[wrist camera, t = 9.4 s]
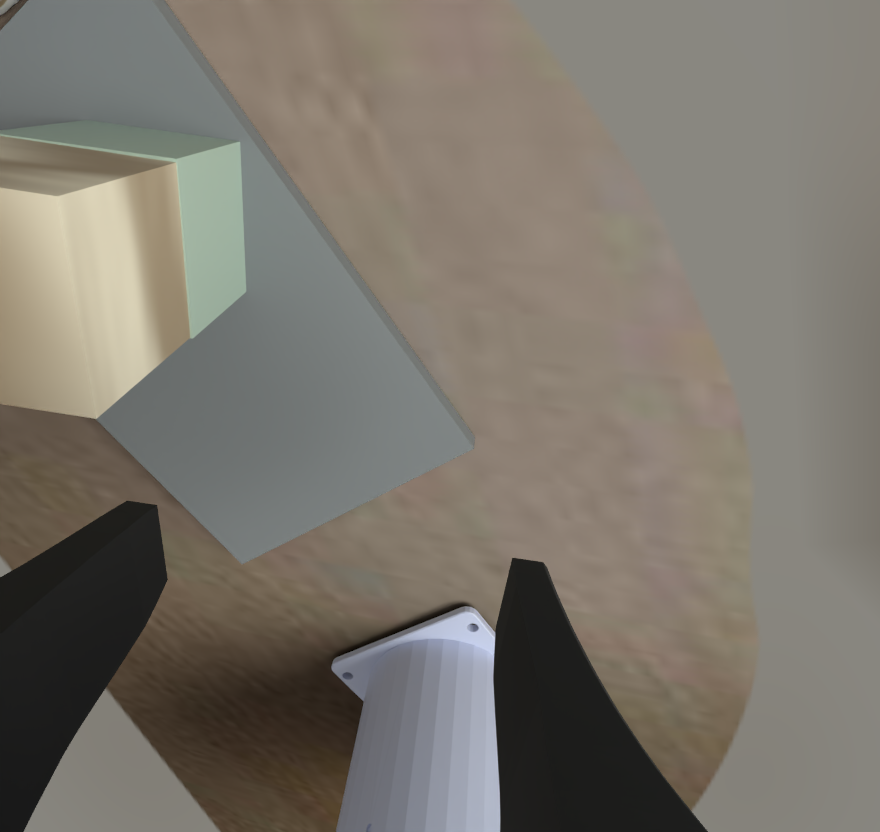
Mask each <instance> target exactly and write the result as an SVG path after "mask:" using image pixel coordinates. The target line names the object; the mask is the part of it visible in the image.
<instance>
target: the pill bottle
mask: <svg viewBox="0 0 880 832" xmlns="http://www.w3.org/2000/svg"><path fill="white" fill-rule="evenodd" d="M18 1H19V0H0V15H2V14H4V13H5V12H6V11H8V10H9V9H10V8H11V7H12V6H13V5H14V4H16V3H17V2H18Z"/></svg>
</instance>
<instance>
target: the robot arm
mask: <svg viewBox="0 0 880 832" xmlns="http://www.w3.org/2000/svg"><path fill="white" fill-rule="evenodd" d="M167 580H168V579H167V572H166V565H165V558H164V551H163V544H162V537H161V530H160V523H159V516H158V509H157V505H152V504H145V503H139V502H132V501H126V502H124V503H123V504H121V505H119V506H117V507H116V508H114V509H112V510H111V511H109V512H108V513H106V514H104V515H103V516H101V517H99V518H98V519H96V520H95V521H93V522H91V523H90V524H88V525H87V526H85V527H83V528H82V529H80V530H79V531H77V532H76V533H74V534H72V535H71V536H69V537H68V538H66V539H64V540H63V541H61V542H59V543H58V544H56V545H54V546H53V547H51V548H50V549H48V550H46V551H45V552H43V553H41V554H40V555H38V556H36V557H35V558H33V559H32V560H30V561H28V562H27V563H25V564H23V565H22V566H20V567H18V568H16V569H14V570H13V571H11V572H9V573H7V574H6V575H4V576H2V577H0V832H23V831H24V829H25V827H26V825H27V823H28V821H29V819H30V817H31V815H32V813H33V811H34V809H35V807H36V805H37V804H38V801H39V800H40V798H41V796H42V794H43V792H44V790H45V788H46V787H47V785H48V783H49V781H50V779H51V777H52V775H53V773H54V771H55V769H56V767H57V766H58V764H59V762H60V759H61V758H62V756H63V754H64V753H65V751H66V749H67V747H68V746H69V744H70V742H71V741H72V739H73V738H74V736H75V734H76V733H77V731H78V729H79V728H80V726H81V725H82V723H83V721H84V720H85V718H86V717H87V715H88V714H89V712H90V711H91V709H92V708H93V706H94V705H95V703H96V702H97V700H98V698H99V697H100V696H101V694H102V692H103V691H104V689H105V688H106V686H107V685H108V683H109V682H110V680H111V679H112V677H113V676H114V674H115V673H116V671H117V669H118V668H119V666H120V665H121V663H122V662H123V660H124V659H125V657H126V656H127V654H128V652H129V651H130V649H131V648H132V646H133V645H134V643H135V642H136V640H137V638H138V637H139V635H140V634H141V632H142V630H143V629H144V627H145V626H146V624H147V622H148V620H149V618H150V616H151V614H152V612H153V610H154V608H155V606H156V604H157V601H158V599H159V597H160V595H161V593H162V591H163V588H164V586H165V584H166V582H167ZM472 623H473V624H476V625H471V624H472ZM331 668H332V671H333V672H334V673H335V674H336V675H337V676H338V677H339V678H340V679H341V680H342V681H343V682H344V683H345V684H346V685H347V686H348V687H349V688H350V689H351V690H352V691H353V692H354V693H355V694H356V695H357V696H358V697H360V698H361V699H362V700H363V701H364V703H363V708H362V712H361V717H360V722H359V727H358V731H357V736H356V741H355V745H354V750H353V755H352V759H351V764H350V769H349V773H348V778H347V783H346V787H345V792H344V797H343V802H342V806H341V811H340V816H339V820H338V825H337V830H336V832H708V831H707V830H706V829H705V828H704V827H703V825H702V824H701V823H700V821H699V820H698V819H697V818H696V816H695V815H694V814H693V813H692V812H691V810H690V809H689V808H688V807H687V805H686V804H685V803H684V802H683V800H682V799H681V798H680V797H679V795H678V794H677V793H676V792H675V790H674V789H673V788H672V787H671V785H670V784H669V783H668V782H667V780H666V779H665V778H664V776H663V775H662V774H661V772H660V771H659V769H658V768H657V767H656V765H655V764H654V763H653V761H652V760H651V758H650V757H649V756H648V754H647V753H646V752H645V750H644V749H643V747H642V746H641V744H640V743H639V741H638V740H637V738H636V737H635V735H634V734H633V733H632V731H631V730H630V728H629V727H628V725H627V724H626V722H625V720H624V719H623V717H622V716H621V714H620V713H619V711H618V709H617V708H616V706H615V705H614V703H613V701H612V700H611V698H610V696H609V695H608V693H607V691H606V689H605V688H604V686H603V684H602V683H601V681H600V679H599V677H598V676H597V674H596V672H595V670H594V668H593V667H592V665H591V663H590V661H589V659H588V657H587V655H586V653H585V651H584V649H583V648H582V646H581V644H580V642H579V640H578V638H577V636H576V634H575V632H574V630H573V628H572V626H571V624H570V621H569V619H568V617H567V615H566V613H565V610H564V608H563V606H562V604H561V602H560V599H559V597H558V595H557V592H556V590H555V587H554V585H553V582H552V580H551V577H550V574H549V572H548V569H547V567H546V566H545V564H544V563H543V562H537V561H531V560H524V559H517V558H512V562H511V566H510V570H509V575H508V579H507V583H506V587H505V591H504V596H503V600H502V604H501V608H500V612H499V617H498V621H497V625H496V631H495V632H494V631H493V630H492V628H491V627H490V626H489V625H488V623H487V622H486V621H485V620H484V619H483V617H482V616H481V615H480V614H479V613H478V611H477V610H475V609H474V608H472V607H469V606H464V607H461V608H458V609H456V610H453V611H451V612H448V613H446V614H443V615H441V616H438V617H436V618H433V619H431V620H428V621H426V622H423V623H421V624H418V625H416V626H413V627H411V628H408V629H406V630H403V631H401V632H398V633H396V634H393V635H391V636H388V637H386V638H383V639H381V640H378V641H376V642H373V643H371V644H368V645H366V646H363V647H361V648H359V649H356V650H354V651H351V652H349V653H346V654H344V655H341V656H339V657H336V658H335V659H334V660H333V663H332V666H331Z"/></svg>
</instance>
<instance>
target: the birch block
mask: <svg viewBox="0 0 880 832" xmlns="http://www.w3.org/2000/svg"><path fill="white" fill-rule="evenodd" d="M189 338H190V328H189V315H188V303H187V290H186V278H185V265H184V253H183V240H182V228H181V216H180V203H179V191H178V178H177V166H176V162H170V161H163V160H157V159H150V158H143V157H137V156H130V155H124V154H117V153H111V152H104V151H97V150H91V149H84V148H78V147H71V146H64V145H58V144H51V143H45V142H38V141H32V140H25V139H18V138H12V137H5V136H0V404H4V405H10V406H17V407H23V408H30V409H36V410H43V411H49V412H55V413H62V414H68V415H75V416H81V417H88V418H94V419H97V418H98V417H99V416H100V415H102V414H103V413H104V412H105V411H106V410H107V409H108V408H110V407H111V406H112V405H113V404H114V403H115V402H117V401H118V400H119V399H120V398H121V397H122V396H123V395H125V394H126V393H127V392H128V391H129V390H130V389H132V388H133V387H134V386H135V385H136V384H137V383H138V382H140V381H141V380H142V379H143V378H144V377H145V376H147V375H148V374H149V373H150V372H151V371H152V370H153V369H155V368H156V367H157V366H158V365H159V364H160V363H162V362H163V361H164V360H165V359H166V358H167V357H168V356H170V355H171V354H172V353H173V352H174V351H175V350H177V349H178V348H179V347H180V346H181V345H182V344H183V343H185V342H186V341H187V340H188V339H189Z"/></svg>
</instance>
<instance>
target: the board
mask: <svg viewBox="0 0 880 832" xmlns="http://www.w3.org/2000/svg"><path fill="white" fill-rule="evenodd" d="M83 120H90V121H97V122H104V123H111V124H119V125H126V126H133V127H140V128H147V129H154V130H162V131H169V132H176V133H183V134H190V135H198V136H205V137H212V138H219V139H226V140H233V141H240V150H241V175H242V199H243V223H244V248H245V272H246V292H245V293H244V294H243V295H242V296H241V297H240V298H239V299H237V300H236V301H235V302H234V303H233V304H232V305H231V306H229V307H228V308H227V309H226V310H225V311H224V312H223V313H221V314H220V315H219V316H218V317H217V318H216V319H215V320H213V321H212V322H211V323H210V324H209V325H208V326H207V327H206V328H204V329H203V330H202V331H201V332H200V333H199V334H198V335H196V336H195V337H194V338H193V339H192V338H189V339H188V340H187V341H186V342H185V343H183V344H182V345H181V346H180V347H179V348H178V349H177V350H175V351H174V352H173V353H172V354H171V355H170V356H168V357H167V358H166V359H165V360H164V361H163V362H162V363H160V364H159V365H158V366H157V367H156V368H155V369H153V370H152V371H151V372H150V373H149V374H148V375H147V376H145V377H144V378H143V379H142V380H141V381H140V382H138V383H137V384H136V385H135V386H134V387H133V388H132V389H130V390H129V391H128V392H127V393H126V394H125V395H123V396H122V397H121V398H120V399H119V400H118V401H117V402H115V403H114V404H113V405H112V406H111V407H110V408H108V409H107V410H106V411H105V412H104V413H103V414H102V415H100V416H99V417H98V418H97V419H96V420H97V421H98V422H99V423H100V424H101V425H102V426H103V427H104V428H105V429H106V430H107V431H108V432H109V433H110V434H111V435H112V436H113V437H114V438H115V439H116V440H117V441H118V442H119V443H120V444H121V445H122V446H123V447H124V448H125V449H126V450H127V451H128V452H129V453H130V454H131V455H132V456H133V457H134V458H135V459H136V460H137V461H138V462H139V463H140V464H142V465H143V466H144V467H145V468H146V469H147V470H148V471H149V472H150V473H151V474H152V475H153V476H154V477H155V478H156V479H157V480H158V481H159V482H160V483H161V484H162V485H163V486H164V487H165V488H166V489H167V490H168V491H169V492H170V493H171V494H172V495H173V496H174V497H175V498H176V499H177V500H178V501H179V502H180V503H181V504H182V505H183V506H184V507H185V508H186V509H187V510H188V511H189V512H190V513H191V514H192V515H193V516H194V517H195V518H196V519H197V520H198V521H199V522H200V523H201V524H202V525H203V526H204V527H205V528H206V529H207V530H208V531H209V532H210V533H211V534H212V535H213V536H214V537H215V538H216V539H217V540H218V541H219V542H220V543H221V544H222V545H223V546H224V547H225V548H226V549H227V550H228V551H229V552H230V553H231V554H232V555H233V556H234V557H235V558H236V559H237V560H238V561H239V562H240V563H241V564H244V563H246V562H248V561H250V560H252V559H254V558H256V557H258V556H260V555H262V554H264V553H266V552H268V551H270V550H272V549H274V548H276V547H278V546H280V545H282V544H284V543H286V542H288V541H290V540H292V539H294V538H296V537H298V536H300V535H302V534H304V533H306V532H308V531H310V530H312V529H314V528H316V527H318V526H320V525H322V524H324V523H326V522H328V521H330V520H332V519H334V518H336V517H338V516H340V515H342V514H344V513H346V512H348V511H350V510H352V509H354V508H356V507H358V506H360V505H362V504H364V503H366V502H368V501H370V500H372V499H374V498H376V497H378V496H380V495H382V494H384V493H386V492H388V491H390V490H392V489H394V488H396V487H398V486H400V485H402V484H404V483H406V482H408V481H410V480H412V479H414V478H416V477H418V476H420V475H422V474H424V473H426V472H428V471H430V470H432V469H434V468H436V467H438V466H440V465H442V464H444V463H446V462H448V461H450V460H452V459H454V458H456V457H458V456H460V455H462V454H464V453H466V452H468V451H470V450H472V449H474V441H475V437H474V435H473V434H472V432H471V431H470V430H469V428H468V427H467V425H466V424H465V423H464V421H463V420H462V418H461V417H460V416H459V414H458V413H457V411H456V410H455V408H454V407H453V406H452V404H451V403H450V401H449V400H448V399H447V397H446V396H445V394H444V393H443V392H442V390H441V389H440V387H439V386H438V385H437V383H436V382H435V380H434V379H433V378H432V376H431V375H430V373H429V372H428V371H427V369H426V368H425V366H424V365H423V363H422V362H421V361H420V359H419V358H418V356H417V355H416V354H415V352H414V351H413V349H412V348H411V347H410V345H409V344H408V342H407V341H406V340H405V338H404V337H403V335H402V334H401V333H400V331H399V330H398V328H397V327H396V325H395V324H394V323H393V321H392V320H391V318H390V317H389V316H388V314H387V313H386V311H385V310H384V309H383V307H382V306H381V304H380V303H379V302H378V300H377V299H376V297H375V296H374V295H373V293H372V292H371V290H370V289H369V288H368V286H367V285H366V283H365V282H364V280H363V279H362V278H361V276H360V275H359V273H358V272H357V271H356V269H355V268H354V266H353V265H352V264H351V262H350V261H349V259H348V258H347V257H346V255H345V254H344V252H343V251H342V250H341V248H340V247H339V245H338V244H337V243H336V241H335V240H334V238H333V237H332V235H331V234H330V233H329V231H328V230H327V228H326V227H325V226H324V224H323V223H322V221H321V220H320V219H319V217H318V216H317V214H316V213H315V212H314V210H313V209H312V207H311V206H310V205H309V203H308V202H307V200H306V199H305V197H304V196H303V195H302V193H301V192H300V190H299V189H298V188H297V186H296V185H295V183H294V182H293V181H292V179H291V178H290V176H289V175H288V174H287V172H286V171H285V169H284V168H283V167H282V165H281V164H280V162H279V161H278V160H277V158H276V157H275V155H274V154H273V152H272V151H271V150H270V148H269V147H268V145H267V144H266V143H265V141H264V140H263V138H262V137H261V136H260V134H259V133H258V131H257V130H256V129H255V127H254V126H253V124H252V123H251V122H250V120H249V119H248V117H247V116H246V115H245V113H244V112H243V110H242V109H241V107H240V106H239V105H238V103H237V102H236V100H235V99H234V98H233V96H232V95H231V93H230V92H229V91H228V89H227V88H226V86H225V85H224V84H223V82H222V81H221V79H220V78H219V77H218V75H217V74H216V72H215V71H214V69H213V68H212V67H211V65H210V64H209V62H208V61H207V60H206V58H205V57H204V55H203V54H202V53H201V51H200V50H199V48H198V47H197V46H196V44H195V43H194V41H193V40H192V39H191V37H190V36H189V34H188V33H187V32H186V30H185V29H184V27H183V26H182V24H181V23H180V22H179V20H178V19H177V17H176V16H175V15H174V13H173V12H172V10H171V9H170V8H169V6H168V5H167V3H166V2H165V1H164V0H28V1H27V2H26V3H25V4H24V5H23V6H22V8H21V9H20V10H19V11H18V12H17V13H16V14H15V15H14V16H13V17H12V18H11V20H10V21H9V22H8V23H7V24H6V25H5V26H4V27H3V28H2V29H1V30H0V130H8V129H16V128H25V127H33V126H41V125H49V124H58V123H66V122H74V121H83Z"/></svg>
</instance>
